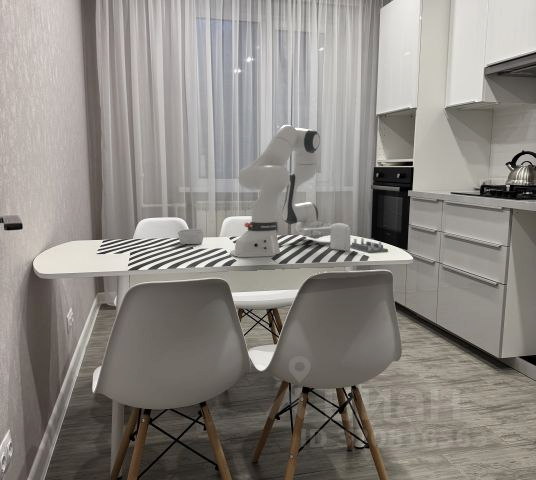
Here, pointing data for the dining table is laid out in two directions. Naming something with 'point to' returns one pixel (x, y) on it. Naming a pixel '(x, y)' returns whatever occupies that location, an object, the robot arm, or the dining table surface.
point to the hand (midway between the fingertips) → (328, 232)
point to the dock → (368, 246)
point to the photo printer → (340, 237)
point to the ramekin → (191, 236)
